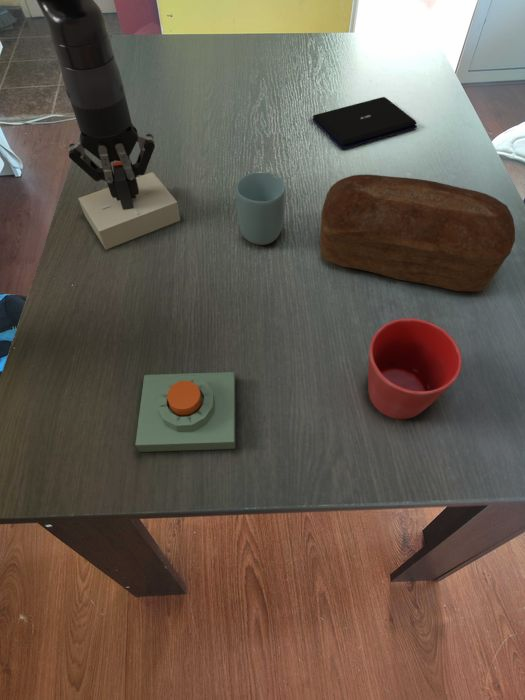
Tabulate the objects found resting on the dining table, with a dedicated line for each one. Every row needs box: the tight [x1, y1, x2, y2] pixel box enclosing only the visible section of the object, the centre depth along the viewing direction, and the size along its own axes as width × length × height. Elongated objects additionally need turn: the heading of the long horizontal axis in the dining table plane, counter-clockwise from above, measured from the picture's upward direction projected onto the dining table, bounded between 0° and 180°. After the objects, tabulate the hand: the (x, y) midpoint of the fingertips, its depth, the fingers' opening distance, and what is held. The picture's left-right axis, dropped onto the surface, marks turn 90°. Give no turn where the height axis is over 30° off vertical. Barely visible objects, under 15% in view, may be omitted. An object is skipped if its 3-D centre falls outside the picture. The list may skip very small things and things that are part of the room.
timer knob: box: [112, 161, 134, 210], centre depth 77 cm, size 5×2×6 cm, turn 13°
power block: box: [134, 371, 236, 453], centre depth 59 cm, size 12×10×4 cm
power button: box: [167, 381, 202, 416], centre depth 57 cm, size 4×4×2 cm
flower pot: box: [367, 317, 463, 420], centre depth 58 cm, size 11×11×10 cm
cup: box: [235, 171, 287, 246], centre depth 76 cm, size 8×8×10 cm
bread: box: [319, 174, 516, 292], centre depth 72 cm, size 14×28×12 cm, turn 73°
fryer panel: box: [77, 171, 181, 251], centre depth 81 cm, size 14×10×4 cm
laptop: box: [312, 96, 418, 150], centre depth 99 cm, size 16×20×2 cm
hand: (126, 196), depth 79 cm, fingers closed on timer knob, 2 cm apart
